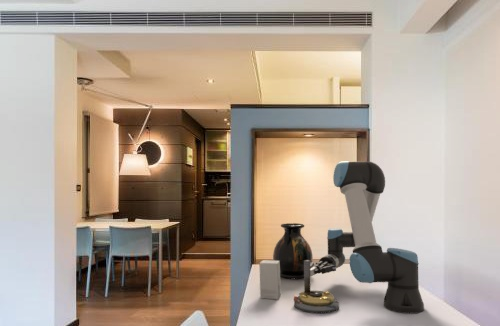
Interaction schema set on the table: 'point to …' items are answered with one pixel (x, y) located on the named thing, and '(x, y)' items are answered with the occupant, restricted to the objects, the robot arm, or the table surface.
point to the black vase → (292, 252)
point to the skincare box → (270, 279)
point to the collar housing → (316, 309)
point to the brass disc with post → (309, 299)
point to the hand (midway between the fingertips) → (309, 273)
